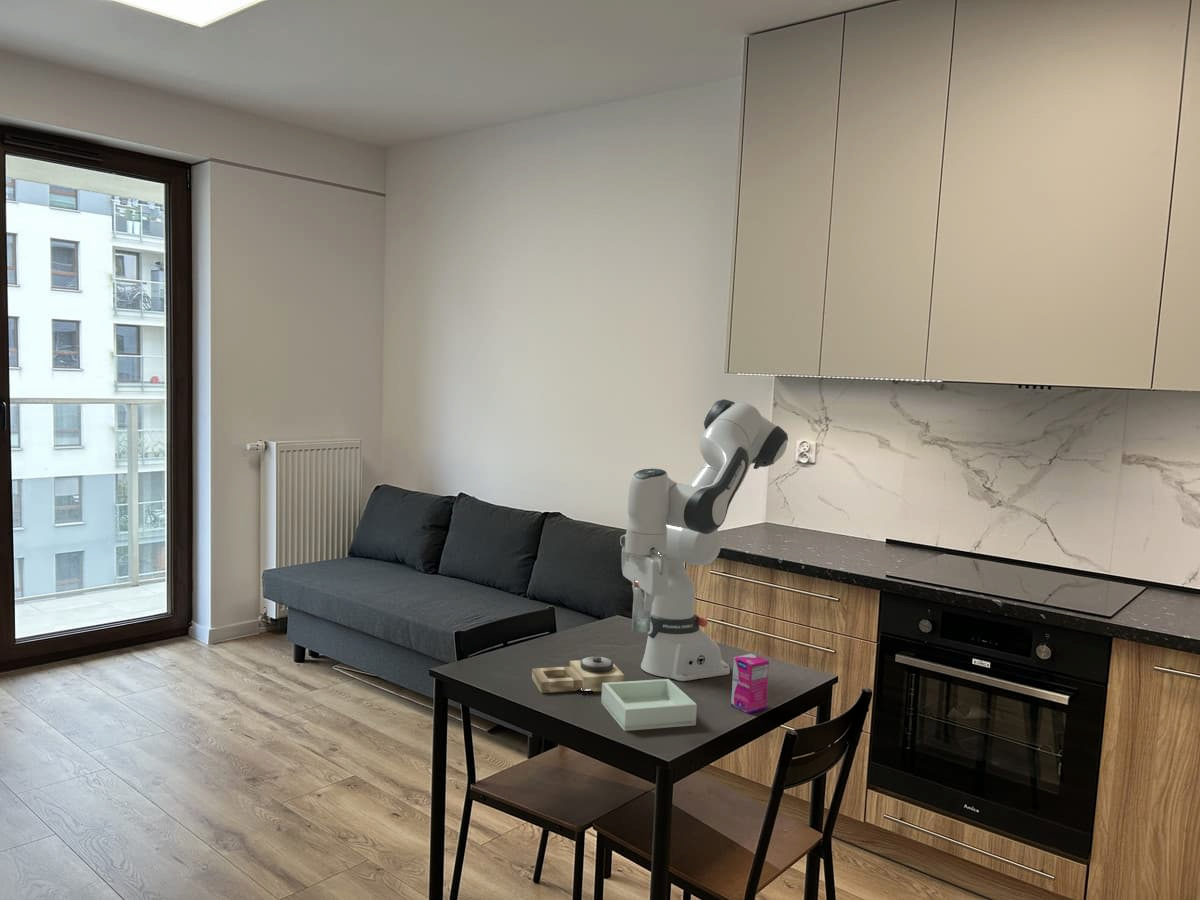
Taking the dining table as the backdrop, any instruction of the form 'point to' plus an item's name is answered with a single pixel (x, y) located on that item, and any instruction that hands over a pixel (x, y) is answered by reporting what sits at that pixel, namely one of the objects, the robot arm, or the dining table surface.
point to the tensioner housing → (577, 675)
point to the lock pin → (640, 611)
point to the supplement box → (749, 683)
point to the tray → (648, 704)
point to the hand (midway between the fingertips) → (642, 606)
